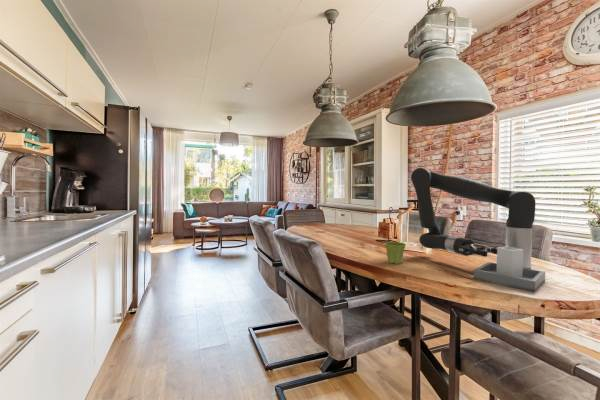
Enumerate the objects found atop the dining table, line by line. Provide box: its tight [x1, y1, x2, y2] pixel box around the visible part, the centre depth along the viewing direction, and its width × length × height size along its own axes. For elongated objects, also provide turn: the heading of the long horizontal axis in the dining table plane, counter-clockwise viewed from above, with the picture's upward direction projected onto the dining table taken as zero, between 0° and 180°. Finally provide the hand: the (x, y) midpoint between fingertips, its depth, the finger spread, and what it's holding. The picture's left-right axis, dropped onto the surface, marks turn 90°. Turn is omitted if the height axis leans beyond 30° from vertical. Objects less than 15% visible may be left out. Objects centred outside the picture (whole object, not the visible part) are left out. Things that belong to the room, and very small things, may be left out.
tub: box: [496, 246, 523, 278], centre depth 105 cm, size 6×6×11 cm
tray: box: [473, 261, 546, 293], centre depth 106 cm, size 18×18×4 cm
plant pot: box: [383, 241, 407, 265], centre depth 130 cm, size 9×9×9 cm
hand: (494, 253), depth 111 cm, fingers open, 8 cm apart
